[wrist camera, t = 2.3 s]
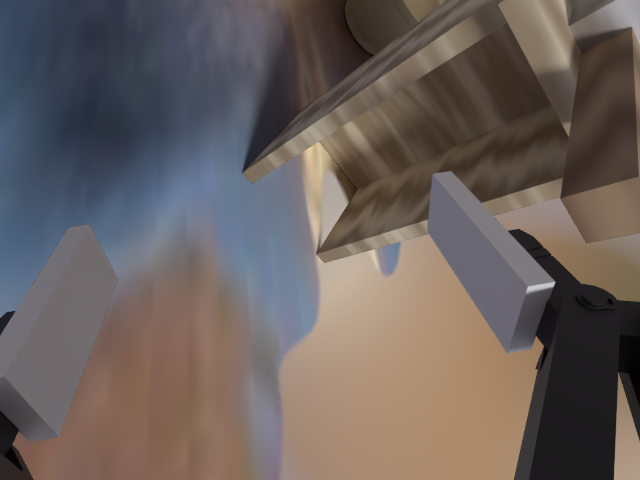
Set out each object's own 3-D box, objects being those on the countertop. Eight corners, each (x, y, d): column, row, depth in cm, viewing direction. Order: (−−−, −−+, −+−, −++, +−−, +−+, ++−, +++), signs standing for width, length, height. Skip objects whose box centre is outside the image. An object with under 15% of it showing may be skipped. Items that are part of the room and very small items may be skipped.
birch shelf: (317, 275, 46) (633, 196, 24) (231, 184, 42) (527, -16, 20) (368, 190, 56) (629, 79, 34) (303, 109, 51) (557, -84, 29)
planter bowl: (390, 95, 65) (449, 58, 57) (316, 21, 57) (373, -35, 49) (403, 34, 72) (458, -7, 64) (340, -40, 64) (393, -97, 56)
